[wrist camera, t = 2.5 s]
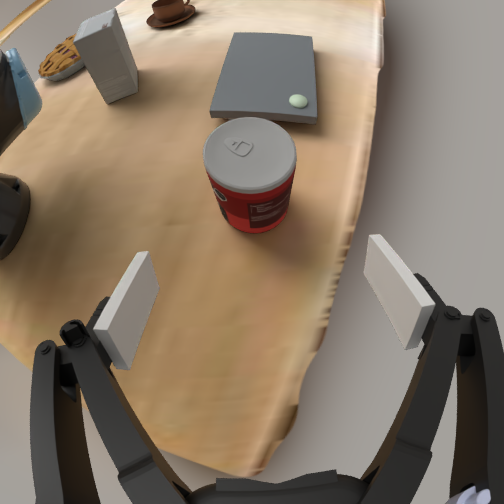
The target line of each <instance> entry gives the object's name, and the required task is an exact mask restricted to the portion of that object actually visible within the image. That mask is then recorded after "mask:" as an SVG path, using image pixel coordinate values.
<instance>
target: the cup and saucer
mask: <svg viewBox="0 0 504 504" xmlns="http://www.w3.org/2000/svg"><path fill="white" fill-rule="evenodd" d="M189 2H190V0H187V2H186V3H185V4H184V2H183V0H157V1H156V2H154V3H153V4H152V8H153V11H154V14H152V15H151V16H150V17H149V18H148V19H147V21H146V22H147V24H148V25H149V26H152V27H165V26H170V25H173V24H176V23H179V22H182V21H184V20H186V19H187V18H189V17H190V16H191V15H192V14H193V13H194V12H195V7H194V6H192V5H188V3H189Z"/></svg>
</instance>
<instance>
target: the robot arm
mask: <svg viewBox="0 0 504 504" xmlns="http://www.w3.org/2000/svg"><path fill="white" fill-rule="evenodd" d="M41 108H42V99H41V97H40V95H39V93H38V91H37V89H36V87H35V85H34V83H33V81H32V79H31V77H30V75H29V73H28V71H27V69H26V67H25V65H24V63H23V61H22V59H21V57H20V55H19V53H18V52H17V50H16V48H12V49H11V50H8V51H7V52H6V53H5V54H4V53H3V52H2V51H1V50H0V156H1V154H2V153H3V152H4V151H5V150H6V149H7V148H8V146H9V145H10V144H11V143H12V142H13V141H14V140H15V139H16V138H17V136H18V135H19V134H20V133H21V132H22V131H23V130H25V129H26V128H27V125H28V124H29V123H30V122H31V121H32V120H33V119H34V118H35V117H36V116H37V115H38V114H39V112H40V110H41ZM29 205H30V193H29V189H28V186H27V185H26V183H25V182H23V181H22V180H21V179H19V178H18V177H16V176H12V175H7V174H3V173H0V259H2V258H4V257H5V256H7V255H8V254H9V253H10V252H11V250H12V249H13V248H14V246H15V245H16V243H17V241H18V240H19V238H20V236H21V233H22V231H23V229H24V226H25V223H26V220H27V216H28V212H29ZM364 275H365V277H366V278H367V280H368V282H369V284H370V285H371V287H372V289H373V291H374V292H375V294H376V296H377V298H378V300H379V302H380V303H381V305H382V307H383V309H384V311H385V313H386V314H387V316H388V318H389V320H390V322H391V324H392V326H393V327H394V330H395V332H396V334H397V335H398V337H399V339H400V341H401V343H402V345H403V347H404V349H405V350H407V349H411V348H416V347H418V345H419V343H420V341H421V338H422V340H423V342H424V346H423V349H422V351H421V353H420V355H419V357H418V359H419V361H418V363H417V366H416V369H415V372H414V375H413V377H412V380H411V383H410V385H409V388H408V390H407V392H406V395H405V397H404V400H403V402H402V404H401V407H400V409H399V411H398V413H397V415H396V418H395V420H394V422H393V424H392V426H391V428H390V430H389V432H388V434H387V436H386V438H385V440H384V442H383V444H382V446H381V447H380V449H379V451H378V453H377V455H376V456H375V458H374V460H373V461H372V463H371V465H370V466H369V467H368V468H367V470H366V471H365V473H364V474H363V476H362V477H361V479H358V478H355V477H352V476H348V475H341V474H337V472H336V470H329V471H324V472H318V473H311V474H306V475H303V476H300V477H297V478H295V479H291V480H288V481H285V482H282V483H278V484H274V483H267V482H261V481H256V480H250V479H227V478H226V479H225V478H216V483H214V484H210V485H207V486H204V487H201V488H199V489H197V490H195V491H194V492H192V491H191V490H190V489H189V488H188V486H187V485H186V484H185V483H184V482H183V481H182V480H181V479H180V478H179V477H178V476H177V475H176V473H175V472H174V471H173V469H172V468H171V467H170V465H169V464H168V463H167V461H166V460H165V459H164V457H163V456H162V454H161V453H160V452H159V450H158V449H157V447H156V446H155V444H154V443H153V441H152V440H151V438H150V437H149V435H148V434H147V432H146V431H145V429H144V428H143V426H142V424H141V423H140V421H139V419H138V418H137V416H136V415H135V413H134V411H133V409H132V408H131V406H130V404H129V402H128V401H127V399H126V397H125V395H124V393H123V392H122V390H121V388H120V386H119V384H118V382H117V380H116V378H115V376H114V374H113V372H112V371H111V369H110V365H111V362H113V364H114V366H115V367H116V369H123V370H130V368H131V365H132V362H133V359H134V356H135V353H136V351H137V348H138V345H139V342H140V339H141V336H142V334H143V331H144V328H145V325H146V323H147V320H148V317H149V315H150V312H151V309H152V307H153V304H154V302H155V299H156V297H157V294H158V292H159V289H160V287H159V284H158V281H157V278H156V274H155V271H154V268H153V264H152V261H151V257H150V254H149V251H145V252H137V254H136V255H135V257H134V259H133V260H132V262H131V263H130V265H129V267H128V268H127V270H126V272H125V273H124V275H123V277H122V278H121V280H120V282H119V283H118V285H117V287H116V288H115V290H114V292H113V294H112V295H111V297H105V298H104V299H103V300H102V301H101V302H100V303H99V305H98V306H97V308H96V311H94V313H93V316H92V317H91V319H90V320H89V322H88V324H87V326H86V328H85V326H84V324H83V323H82V321H80V320H71V321H69V322H67V323H66V324H64V325H63V327H62V328H61V330H60V336H61V338H62V340H63V341H64V343H65V344H66V345H63V346H58V347H57V345H56V344H55V343H54V341H52V340H46V341H44V342H42V343H40V344H39V345H38V347H37V348H36V351H35V357H34V365H33V374H32V387H31V403H30V444H31V460H32V471H33V479H34V487H35V493H36V503H35V504H101V503H100V499H99V496H98V492H97V489H96V485H95V481H94V477H93V472H92V468H91V463H90V458H89V454H88V448H87V442H86V436H85V429H84V422H83V415H82V404H81V393H80V388H81V391H82V394H83V396H84V399H85V401H86V404H87V407H88V409H89V411H90V414H91V416H92V419H93V421H94V423H95V425H96V428H97V430H98V432H99V434H100V436H101V438H102V440H103V443H104V445H105V447H106V449H107V450H108V453H109V455H110V456H111V458H112V460H113V462H114V464H115V466H116V468H117V469H118V471H119V474H118V480H119V482H120V483H121V486H122V487H123V489H124V491H125V492H126V494H127V495H128V497H129V499H130V500H131V502H132V503H133V504H410V503H411V501H412V499H413V497H414V495H415V493H416V491H417V489H418V487H419V485H420V483H421V481H422V479H423V477H424V475H425V472H426V470H427V468H428V466H429V463H430V461H431V458H432V452H431V451H430V449H431V445H432V443H433V440H434V437H435V435H436V432H437V429H438V426H439V423H440V420H441V417H442V414H443V411H444V407H445V404H446V400H447V397H448V393H449V389H450V385H451V381H452V377H453V373H454V368H455V363H456V369H457V426H456V440H455V451H454V459H453V467H452V474H451V481H450V496H449V497H450V499H449V500H448V501H447V502H446V504H504V352H503V347H502V343H501V339H500V335H499V331H498V327H497V324H496V320H495V317H494V315H493V314H492V313H491V312H490V311H489V310H488V309H485V308H478V309H476V310H475V312H474V314H473V316H468V315H462V314H461V313H460V311H459V310H458V309H457V308H454V307H452V306H446V305H445V304H444V302H443V301H442V300H441V298H440V297H439V295H438V294H437V293H436V292H435V290H433V288H432V286H430V284H429V283H428V281H427V280H426V279H425V278H424V277H422V276H421V275H420V274H418V273H417V274H413V273H412V272H411V271H410V270H409V268H408V267H407V266H406V265H405V263H404V262H403V261H402V260H401V258H400V257H399V256H398V255H397V253H396V252H395V251H394V250H393V249H392V248H391V246H390V245H389V244H388V243H387V242H386V240H385V239H384V238H383V237H382V236H381V235H380V234H377V235H369V240H368V247H367V254H366V261H365V268H364Z"/></svg>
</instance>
